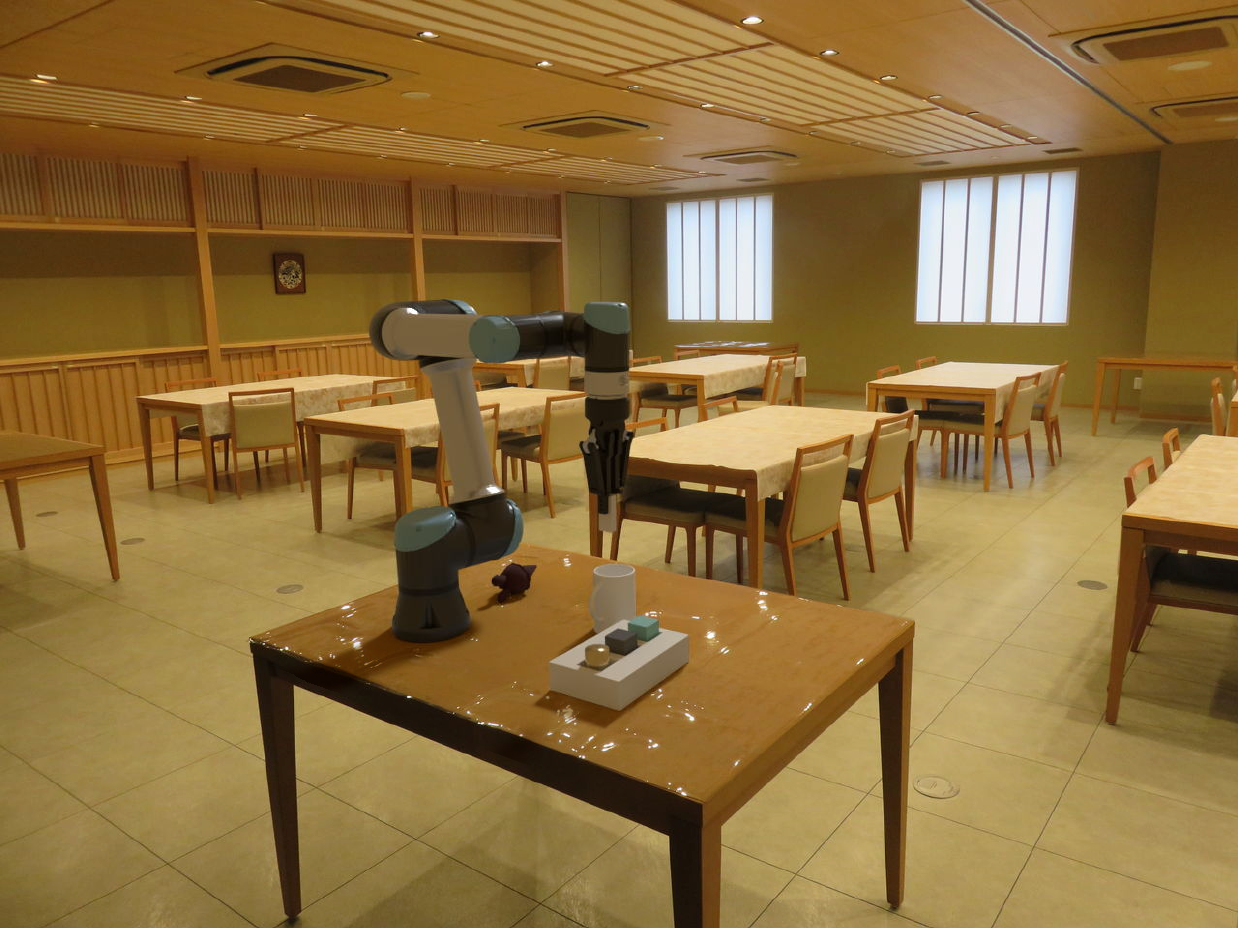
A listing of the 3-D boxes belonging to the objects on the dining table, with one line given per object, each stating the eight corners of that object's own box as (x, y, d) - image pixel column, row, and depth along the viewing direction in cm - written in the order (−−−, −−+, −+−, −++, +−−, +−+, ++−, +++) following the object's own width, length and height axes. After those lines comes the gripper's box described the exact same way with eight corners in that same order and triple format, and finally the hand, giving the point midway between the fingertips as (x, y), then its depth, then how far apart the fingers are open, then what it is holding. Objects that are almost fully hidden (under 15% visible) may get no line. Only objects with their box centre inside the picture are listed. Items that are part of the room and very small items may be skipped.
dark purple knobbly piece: (518, 552, 204) (477, 577, 192) (544, 549, 200) (503, 574, 188) (527, 581, 205) (487, 608, 193) (553, 578, 201) (513, 605, 189)
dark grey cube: (605, 660, 154) (604, 636, 153) (618, 652, 158) (618, 628, 157) (624, 665, 152) (624, 640, 151) (637, 657, 155) (637, 632, 154)
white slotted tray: (550, 689, 150) (549, 661, 149) (623, 644, 168) (623, 619, 167) (619, 710, 143) (618, 681, 142) (689, 661, 160) (689, 634, 159)
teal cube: (628, 646, 160) (627, 622, 159) (640, 639, 163) (639, 615, 162) (647, 651, 158) (646, 627, 157) (659, 643, 161) (658, 619, 160)
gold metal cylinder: (580, 675, 149) (580, 650, 148) (595, 667, 152) (594, 642, 151) (600, 681, 147) (600, 655, 146) (614, 672, 150) (614, 647, 149)
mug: (604, 646, 168) (603, 584, 165) (572, 634, 173) (570, 575, 171) (646, 627, 176) (645, 568, 174) (614, 617, 182) (612, 560, 179)
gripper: (602, 402, 144) (603, 543, 149) (647, 392, 154) (646, 525, 160) (565, 398, 148) (567, 536, 153) (611, 389, 158) (611, 518, 164)
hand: (607, 530), depth 157 cm, fingers closed
